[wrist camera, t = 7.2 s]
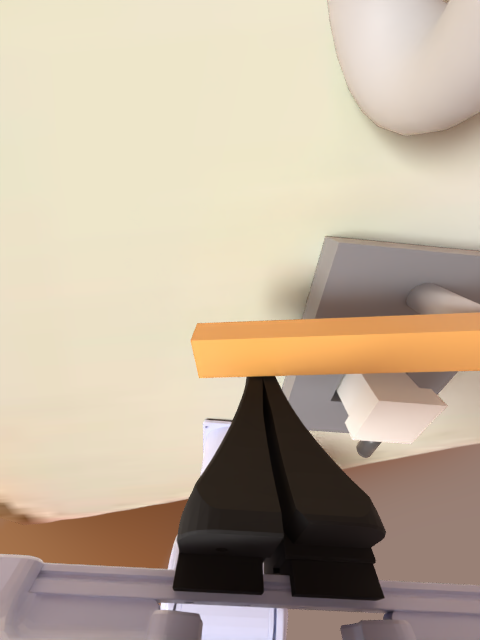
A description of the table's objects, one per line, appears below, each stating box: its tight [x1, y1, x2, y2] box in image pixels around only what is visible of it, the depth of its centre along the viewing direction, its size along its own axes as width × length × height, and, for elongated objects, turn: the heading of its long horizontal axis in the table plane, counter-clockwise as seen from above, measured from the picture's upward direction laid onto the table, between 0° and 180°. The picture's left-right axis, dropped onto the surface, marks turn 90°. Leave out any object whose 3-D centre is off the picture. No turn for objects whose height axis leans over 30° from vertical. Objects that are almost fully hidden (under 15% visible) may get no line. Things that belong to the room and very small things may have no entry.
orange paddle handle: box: [191, 312, 480, 378], centre depth 10 cm, size 16×3×2 cm, turn 93°
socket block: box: [282, 236, 480, 433], centre depth 17 cm, size 20×14×7 cm
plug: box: [336, 373, 447, 458], centre depth 19 cm, size 8×5×6 cm, turn 175°
